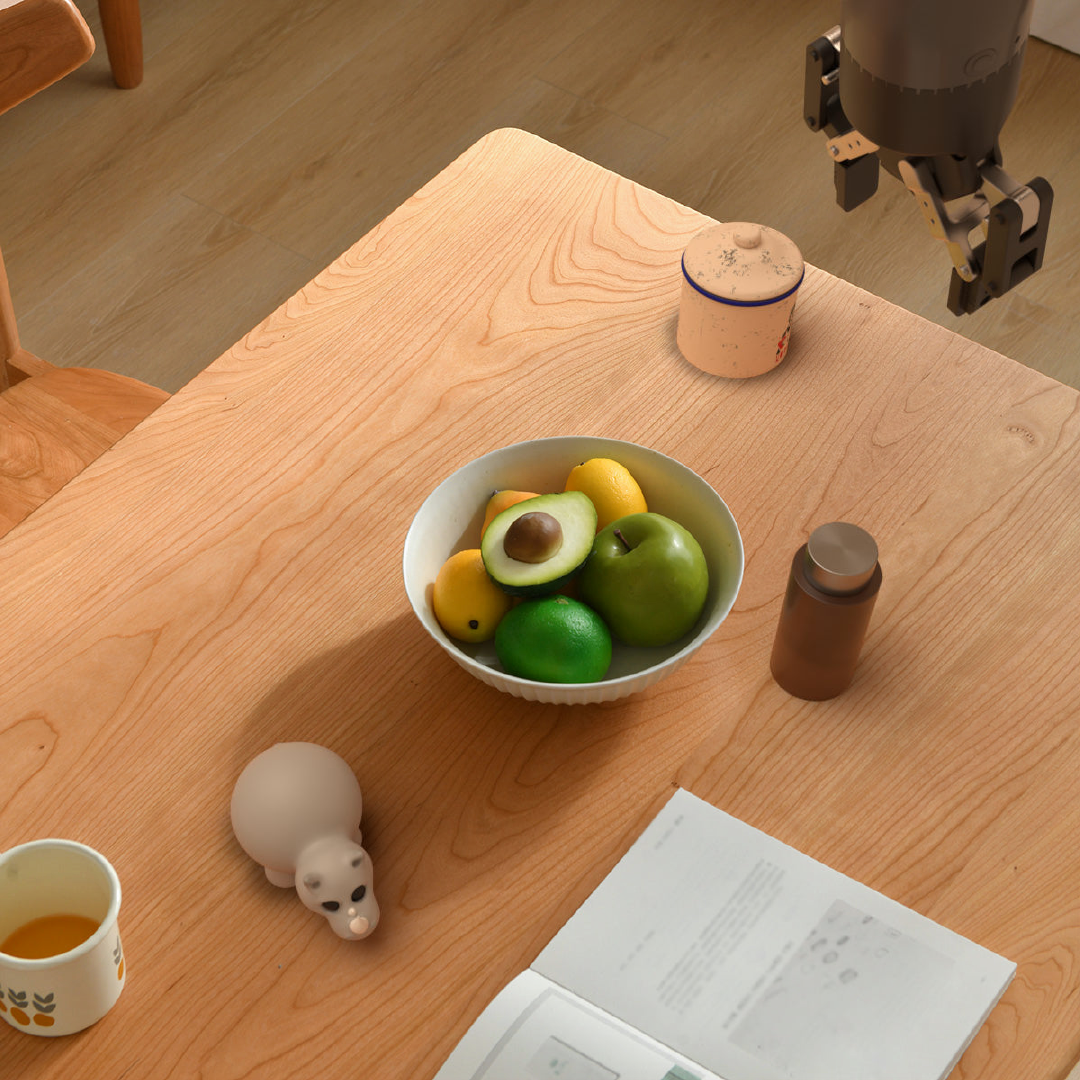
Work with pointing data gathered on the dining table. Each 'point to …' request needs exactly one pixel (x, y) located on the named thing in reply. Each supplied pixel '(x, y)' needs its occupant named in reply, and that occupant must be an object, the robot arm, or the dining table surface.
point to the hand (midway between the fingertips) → (910, 250)
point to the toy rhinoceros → (308, 832)
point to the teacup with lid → (738, 299)
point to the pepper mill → (826, 612)
